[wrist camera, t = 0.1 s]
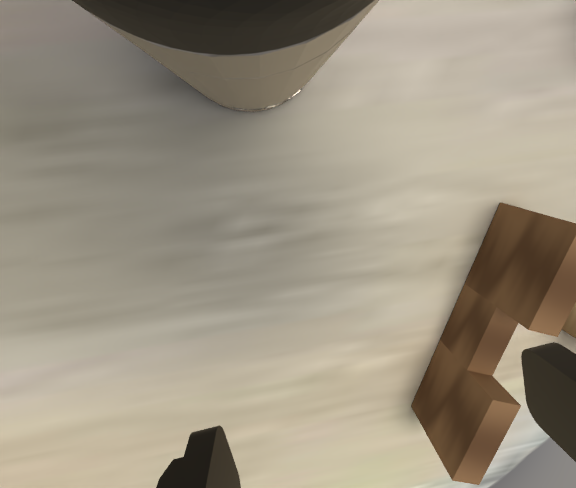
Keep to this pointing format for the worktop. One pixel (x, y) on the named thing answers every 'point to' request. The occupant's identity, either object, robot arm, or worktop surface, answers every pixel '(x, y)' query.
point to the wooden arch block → (571, 323)
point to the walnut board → (494, 335)
